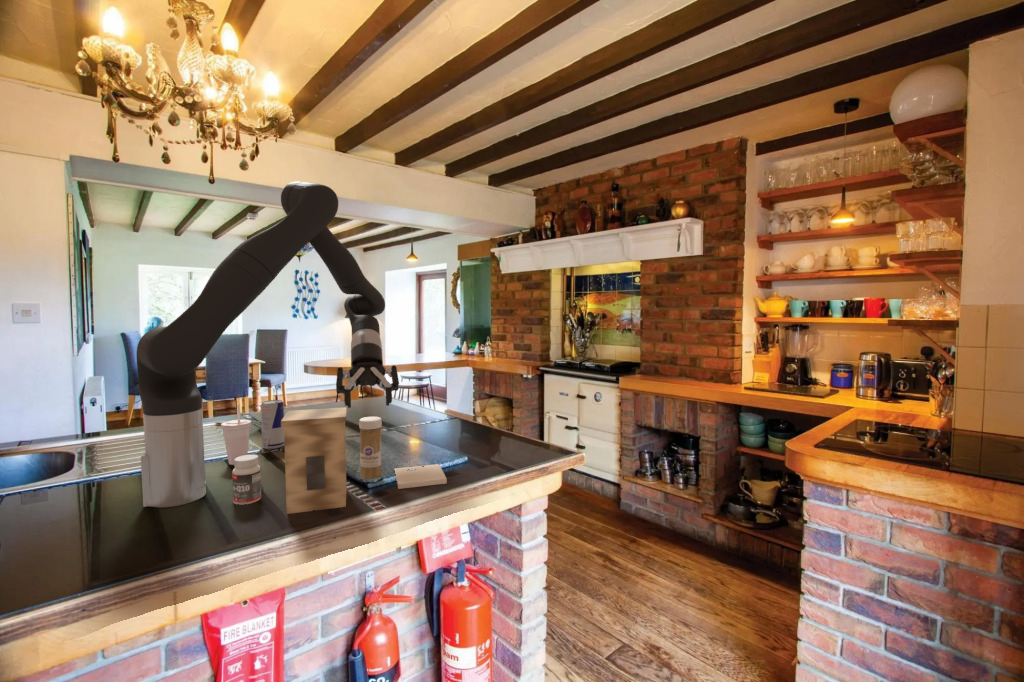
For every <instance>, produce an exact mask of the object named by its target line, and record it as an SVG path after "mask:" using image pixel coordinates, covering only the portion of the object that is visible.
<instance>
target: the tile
mask: <svg viewBox="0 0 1024 682" xmlns="http://www.w3.org/2000/svg"><path fill="white" fill-rule="evenodd" d="M422 466H424V467H422ZM408 469H409V470H410V471H409V470H408ZM415 469H416V470H415ZM394 470H395V473H394V475H395V474H396V477H395V481H397V482H396V485H397V489H398V490H400V489H401V490H402V489H410V488H417V487H420V488H421V487H427V486H436V485H445V484H448V482H447V481H448V479H447V477H446V475H445V472H444V471H443V469H442V467H441V465H440V464H439V463H435V464H427V465H426V464H425V465H415V466H407V467H397V468H396V467H395V468H394V469H393V471H394ZM407 470H408V471H407ZM411 470H412V471H411ZM414 470H415V471H414Z"/></svg>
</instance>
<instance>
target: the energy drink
mask: <svg viewBox="0 0 1024 682" xmlns="http://www.w3.org/2000/svg"><path fill="white" fill-rule="evenodd" d="M284 406H285V405H284V402H283V400H282V399H281V400H280V399H271V400H264V401H261V404H260V411H261V413H260V414H261V442H262V445H261V446H262V448H263V449H265V450H273V449H274V450H275V449H280V448H282V447H285V444H284V427H281V420H282V419H283V417H284V416H285V412H284V411H285V410H284V408H285V407H284Z"/></svg>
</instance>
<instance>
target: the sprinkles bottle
mask: <svg viewBox="0 0 1024 682" xmlns="http://www.w3.org/2000/svg"><path fill="white" fill-rule="evenodd" d="M358 420H359V421H358V422H359V424H358V426H359V435H360V438H359V439H360V442H359V445H360V447H359V448H360V451H359V460H360V461H359V464H360V478H361V477H362V478H365V479H374V478H378V477H381V475H382V460H383V459H382V425H383V424H382V421H383V419H382V418H381V417H379V416H364V417H362V418H359V419H358Z"/></svg>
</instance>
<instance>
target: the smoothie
mask: <svg viewBox="0 0 1024 682" xmlns="http://www.w3.org/2000/svg"><path fill="white" fill-rule="evenodd" d="M240 408H241V406H240V403H237V404H236V413H237V419H232V420H228V421H224V422H222V423H220V429H221V430H222V434H223V439H224V443H225V444H224V445H225V449H226V455H227V461H228V464H229V465H230V466H234V459H235V458H237V457H239V456H243V455H249V454H248V453H249V452H248V450H249V441H250V432H251V426H252V420H250V419H241V409H240Z"/></svg>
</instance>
